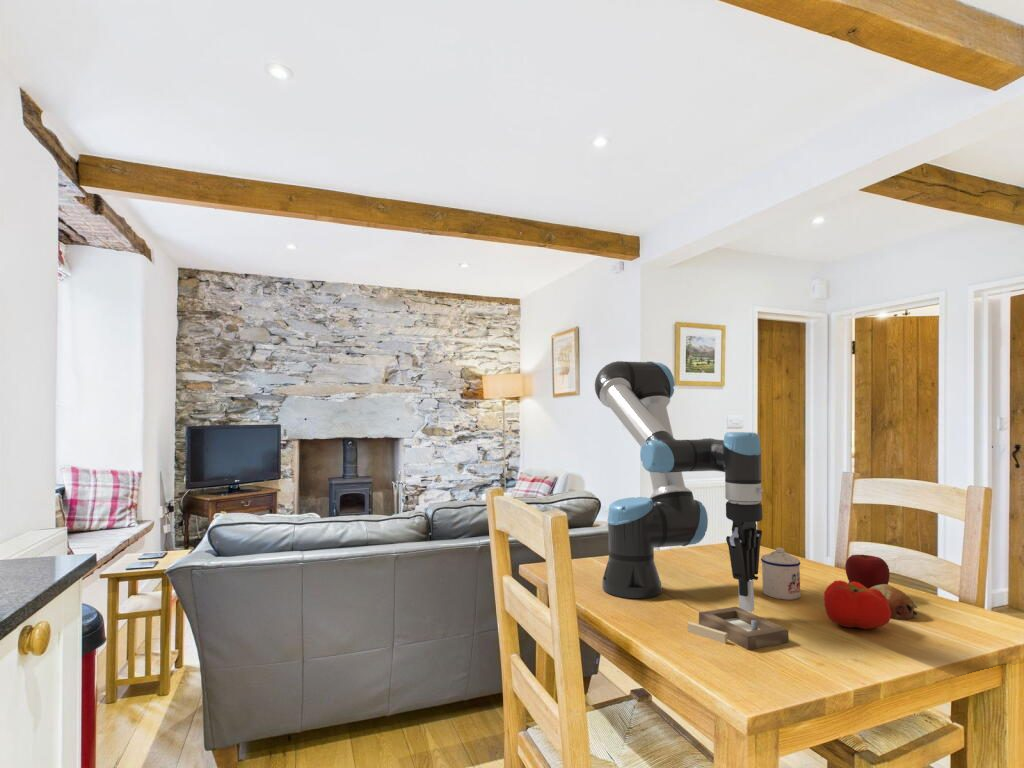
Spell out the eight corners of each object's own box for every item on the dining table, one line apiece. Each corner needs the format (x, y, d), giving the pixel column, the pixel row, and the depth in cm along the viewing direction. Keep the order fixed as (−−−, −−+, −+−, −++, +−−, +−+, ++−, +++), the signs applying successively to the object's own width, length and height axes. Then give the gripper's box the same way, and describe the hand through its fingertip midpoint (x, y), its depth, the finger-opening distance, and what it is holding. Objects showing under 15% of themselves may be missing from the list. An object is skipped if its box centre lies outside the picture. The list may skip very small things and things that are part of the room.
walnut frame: (699, 623, 118) (698, 612, 118) (736, 617, 122) (736, 606, 122) (747, 649, 105) (747, 636, 105) (788, 642, 108) (788, 629, 109)
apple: (866, 587, 148) (865, 548, 148) (900, 598, 138) (898, 557, 139) (837, 590, 145) (836, 551, 146) (869, 602, 136) (868, 560, 136)
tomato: (887, 643, 111) (885, 599, 112) (817, 628, 119) (815, 586, 120) (896, 624, 122) (894, 583, 122) (831, 611, 130) (829, 572, 130)
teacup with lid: (796, 603, 135) (795, 554, 136) (757, 595, 141) (755, 548, 142) (808, 591, 144) (806, 545, 145) (770, 584, 150) (769, 540, 151)
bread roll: (887, 620, 134) (871, 585, 137) (930, 613, 126) (912, 577, 129) (863, 627, 129) (847, 591, 133) (906, 621, 121) (888, 583, 125)
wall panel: (661, 634, 116) (661, 609, 117) (701, 615, 127) (700, 593, 127) (768, 669, 100) (767, 641, 100) (803, 644, 111) (802, 619, 111)
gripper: (747, 506, 117) (750, 621, 116) (773, 500, 126) (776, 606, 125) (713, 502, 122) (716, 612, 121) (740, 496, 131) (743, 598, 130)
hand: (746, 609), depth 123 cm, fingers closed
